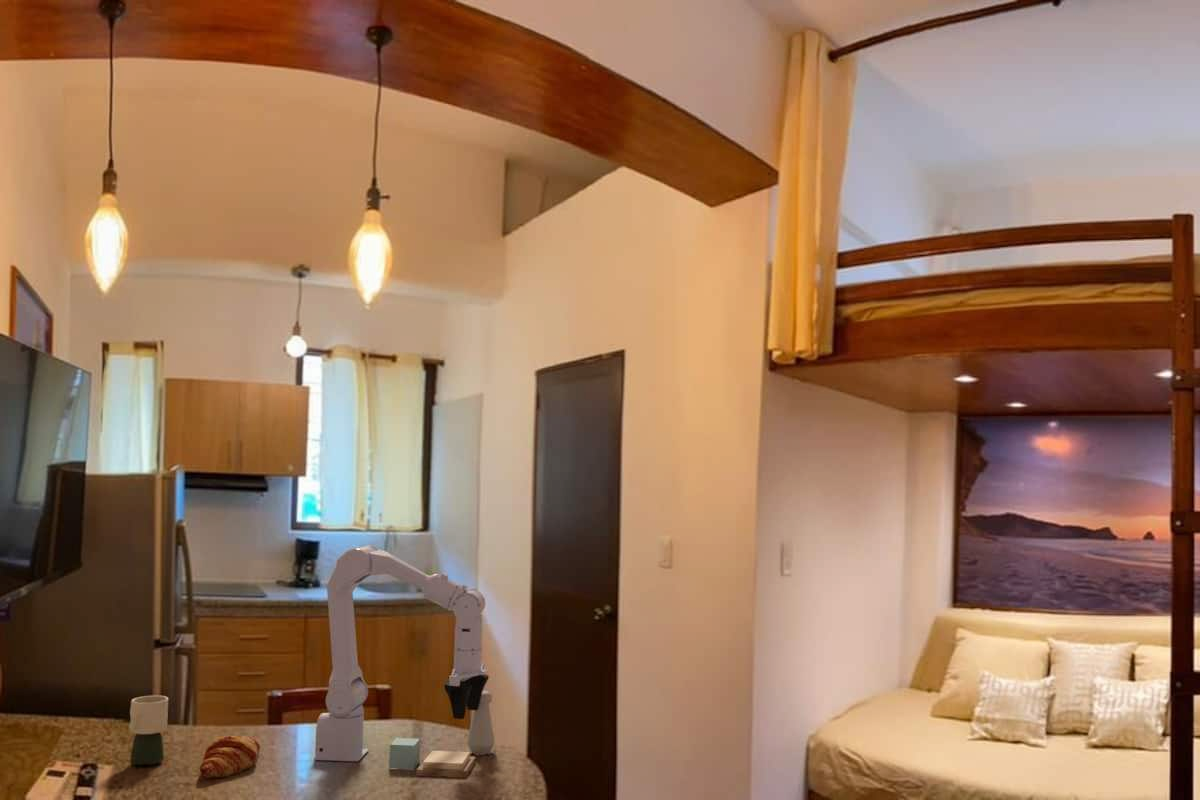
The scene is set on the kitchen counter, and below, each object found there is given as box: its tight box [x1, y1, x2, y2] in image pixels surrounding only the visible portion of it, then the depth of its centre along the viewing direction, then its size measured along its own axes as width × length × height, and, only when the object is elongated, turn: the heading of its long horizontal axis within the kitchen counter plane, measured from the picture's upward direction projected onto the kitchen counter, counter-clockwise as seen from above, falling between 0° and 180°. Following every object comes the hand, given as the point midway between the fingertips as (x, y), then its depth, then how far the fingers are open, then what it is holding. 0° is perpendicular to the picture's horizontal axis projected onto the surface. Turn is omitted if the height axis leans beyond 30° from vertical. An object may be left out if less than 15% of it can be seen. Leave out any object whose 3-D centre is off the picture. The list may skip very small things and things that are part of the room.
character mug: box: [128, 695, 169, 767], centre depth 204 cm, size 11×7×13 cm, turn 169°
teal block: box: [388, 737, 421, 771], centre depth 206 cm, size 5×5×5 cm
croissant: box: [199, 735, 261, 778], centre depth 203 cm, size 21×10×8 cm, turn 172°
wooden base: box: [416, 750, 476, 778], centre depth 204 cm, size 10×10×2 cm
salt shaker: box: [467, 690, 496, 756], centre depth 216 cm, size 6×6×13 cm
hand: (465, 714), depth 210 cm, fingers open, 7 cm apart
